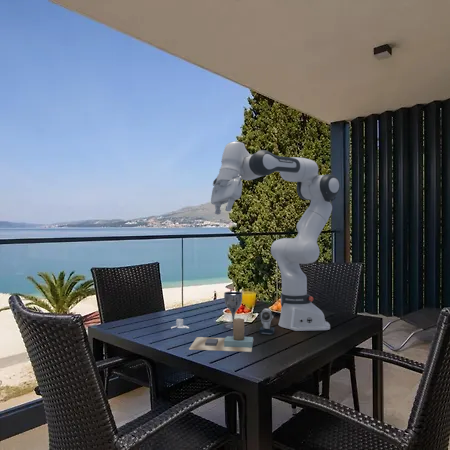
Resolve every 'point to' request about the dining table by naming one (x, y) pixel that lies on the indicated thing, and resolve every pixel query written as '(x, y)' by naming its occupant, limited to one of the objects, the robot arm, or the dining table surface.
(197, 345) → the pine board
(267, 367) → the dining table surface
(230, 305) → the wine glass
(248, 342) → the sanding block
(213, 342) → the graphite chip
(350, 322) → the dining table surface
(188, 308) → the dining table surface
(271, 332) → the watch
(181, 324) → the grey hub with arms
